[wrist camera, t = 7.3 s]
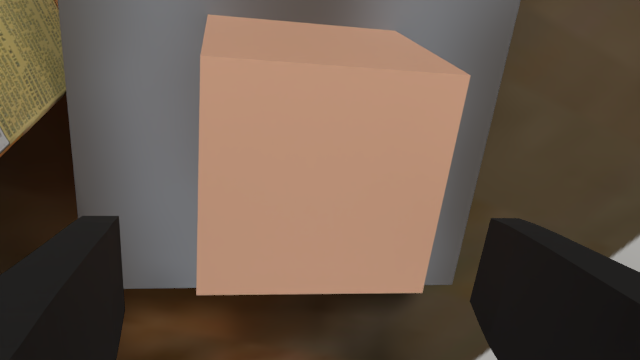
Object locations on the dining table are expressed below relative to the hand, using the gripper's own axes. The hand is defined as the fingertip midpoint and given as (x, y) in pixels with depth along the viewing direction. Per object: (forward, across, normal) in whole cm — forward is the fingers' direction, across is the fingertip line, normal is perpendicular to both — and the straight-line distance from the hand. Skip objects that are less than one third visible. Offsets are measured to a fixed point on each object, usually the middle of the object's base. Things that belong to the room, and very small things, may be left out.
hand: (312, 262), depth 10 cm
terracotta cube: (+6, 0, -1) cm, 6 cm away
